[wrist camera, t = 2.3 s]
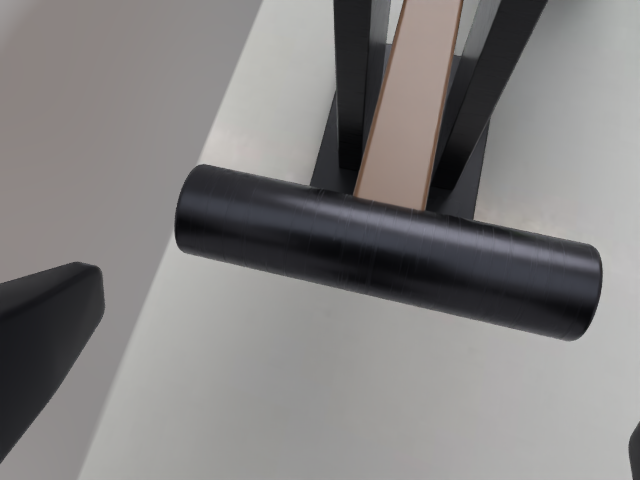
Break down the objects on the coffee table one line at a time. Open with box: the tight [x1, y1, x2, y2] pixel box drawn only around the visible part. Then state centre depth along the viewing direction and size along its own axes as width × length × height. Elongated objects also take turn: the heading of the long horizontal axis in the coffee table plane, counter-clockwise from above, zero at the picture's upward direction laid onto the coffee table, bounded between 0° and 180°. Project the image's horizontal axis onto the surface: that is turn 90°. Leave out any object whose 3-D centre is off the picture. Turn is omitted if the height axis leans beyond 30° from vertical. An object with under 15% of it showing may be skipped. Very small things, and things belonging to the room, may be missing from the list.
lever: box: [174, 0, 603, 341], centre depth 10 cm, size 12×6×2 cm, turn 166°
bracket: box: [310, 0, 548, 220], centre depth 17 cm, size 9×7×14 cm
